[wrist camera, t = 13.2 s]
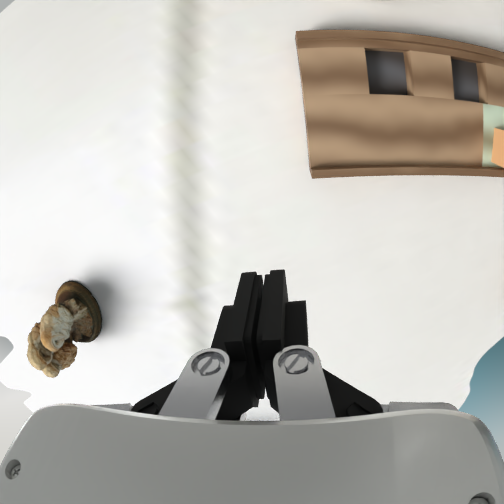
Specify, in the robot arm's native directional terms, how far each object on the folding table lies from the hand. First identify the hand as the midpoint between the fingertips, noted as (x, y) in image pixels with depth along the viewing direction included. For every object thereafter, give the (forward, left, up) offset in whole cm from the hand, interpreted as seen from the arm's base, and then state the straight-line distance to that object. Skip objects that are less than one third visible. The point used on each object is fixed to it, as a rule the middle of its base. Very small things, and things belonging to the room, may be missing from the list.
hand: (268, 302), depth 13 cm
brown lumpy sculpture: (+26, -45, -32) cm, 61 cm away
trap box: (-7, +20, -32) cm, 38 cm away
